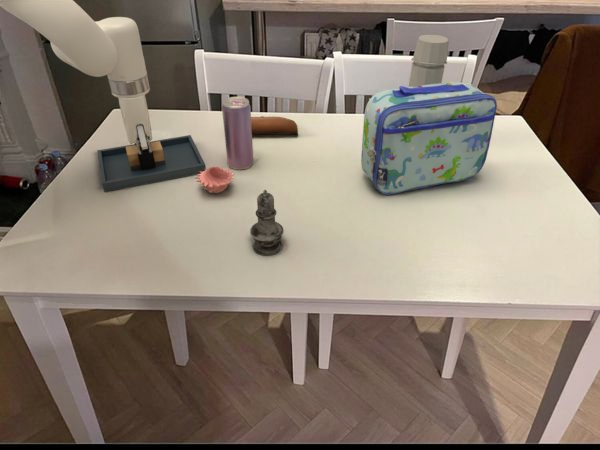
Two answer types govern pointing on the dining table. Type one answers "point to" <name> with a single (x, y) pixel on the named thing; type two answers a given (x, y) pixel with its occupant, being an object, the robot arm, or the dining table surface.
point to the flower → (215, 179)
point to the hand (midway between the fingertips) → (146, 162)
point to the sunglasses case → (273, 125)
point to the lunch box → (426, 135)
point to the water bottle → (429, 60)
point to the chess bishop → (266, 227)
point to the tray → (178, 160)
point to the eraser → (134, 158)
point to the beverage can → (238, 132)
